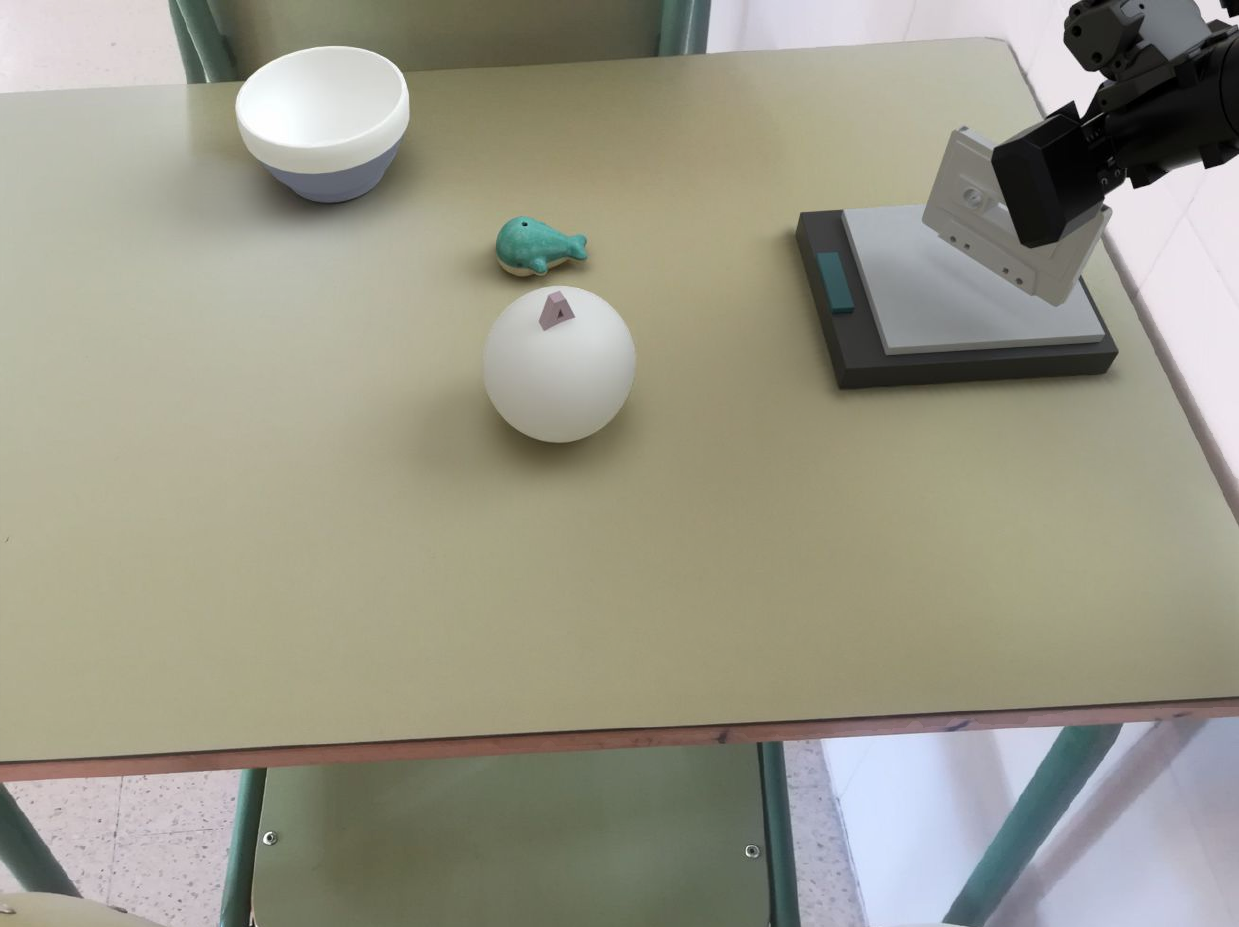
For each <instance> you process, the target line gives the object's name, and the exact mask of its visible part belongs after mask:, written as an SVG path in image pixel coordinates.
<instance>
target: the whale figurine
mask: <svg viewBox="0 0 1239 927" xmlns="http://www.w3.org/2000/svg"><path fill="white" fill-rule="evenodd" d="M587 243H588V238H587V237H586V235H584V234H574V235H571V236H568V235H567V234H564V233H563V232H561V231H559V230H557V229H555V228H553V227H552V226H550V225H547V223H545V221H538V220H536V219H535V218H533V217H530V216H524V215H522V216H517V217H514V218H511V219H510V220H508V221H507V222H506V223H505V224H504V225H503V226H502V227H501V228H500V230H499V231H498V233H497V236H496V240H495V253H496V260H497V262H498V263H499V265H500V267H501V268H502V269H503V270H505V271H506V272H507V273H509V274H511V275H514V276H517V277H528V276H532V275H537V276H539V277H543V276H546V274H547V272H548V270H550V269H552V268H554V267H557V266H559V265H561V264H563V263H565V262H567V261H572V262H574V263H585V262H586V261H587V260H588V253H587V251H586V246H587Z"/></svg>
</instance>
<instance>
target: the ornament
mask: <svg viewBox="0 0 1239 927" xmlns="http://www.w3.org/2000/svg"><path fill="white" fill-rule="evenodd" d="M636 370H637V355H636V348H635V342H634V340H633V336H632V334H631V332H630V330H629V328H628V326H627V324H626V321H624V319H623V317H621V315H620V314H619V313H618V311H617V310H616V309H615V308H614V307H613V306H612V305H611V304H610V303H608V301H606V300H604V298H602V297H601V296H600V295H599V296H598V295H597V294H595V293H593V292H591V291H589V290H586V289H583V288H580V287H576V286H569V285H551V286H544V287H541V288H537V289H534V290H531V291H529V292H527V293H524V294H523V295H521V296H520V297H518V298H517V299H515V300H514V301H512V302H511V303H510V304H509V305H508V306H507V307H506V308H505V309H503V311H502V312H501V314H500V315H499V316H498V318H497V319H496V320H495V321H494V324H493V325H492V327H491V329H490V331H489V332H488V336H487V338H486V340H485V344H484V347H483V351H482V359H481V371H482V372H481V373H482V379H483V380H482V381H483V383H484V388H485V390H486V393H487V396H488V398H489V399H490V401H491V403H492V405H493V406H494V408H495V410H496V411H497V412H498V413H499V414H500V416H501V417H502V418H503V420H505V421H506V422H507V423H508V425H510V426H511V427H513V428H514V429H515V430H517V431H518V432H520V433H522V434H524V435H526V436H527V437H529V438H532V439H535V440H537V441H542V442H546V443H559V444H560V443H570V442H575V441H579V440H582V439H585V438H588V437H589V436H591V435H593V434H595V433H597V432H598V431H601V429H603V428H604V427H605V426H607V425H608V423H610V422H611V421H612V420H613V419H614V418H615V417H616V415H617V414H618V413H619V411H620V410H621V408H622V407H623V406H624V404H625V402H626V401H627V398H628V397H629V394H630V392H631V390H632V386H633V384H634V380H635V376H636Z"/></svg>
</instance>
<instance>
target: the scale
mask: <svg viewBox="0 0 1239 927" xmlns="http://www.w3.org/2000/svg"><path fill="white" fill-rule="evenodd" d="M926 205H927V203H917V204H904V205H887V206H873V207H872V206H871V207H858V208H857V207H856V208H844V209H829V210H816V211H815V210H814V211H813V210H812V211H801V212H800V213H799V217H798V221H797V225H796V229H795V233H794V235H795V238H796V241H797V245H798V248H799V251H800V252H799V253H800V256H801V259H802V262H803V263H802V264H803V265H804V269H805V273H806V277H807V280H808V283H809V287H810V290H811V294H812V297H813V301H814V304H815V309H816V311H817V315H818V319H819V322H820V325H821V329H822V333H823V336H824V339H825V343H826V348H827V350H828V354H829V357H830V361H831V364H832V366H833V368H832V369H833V371H834V374H835V377H836V381H837V385H838V388H839V390H850V389H865V388H881V387H882V388H884V387H897V386H898V387H899V386H913V385H914V386H915V385H930V384H932V385H933V384H947V383H949V384H950V383H966V382H982V381H998V380H1016V379H1017V380H1018V379H1029V378H1030V379H1031V378H1033V379H1034V378H1047V377H1049V378H1050V377H1063V376H1080V375H1081V376H1083V375H1095V374H1096V375H1097V374H1107V372H1108V371H1109V369H1110V368H1111V366H1112V365H1113V362H1114V361H1115V360H1116V358H1117V356H1118V355H1119V353H1120V350H1119V349H1118V346H1117V343H1116V342H1115V340H1114V338H1113V336H1112V334H1111V332H1110V330H1109V328H1108V325H1107V324H1106V322H1105V320H1104V318H1103V316H1102V314H1101V312H1100V310H1099V308H1098V305H1097V303H1096V302H1095V300H1094V297H1093V296H1092V293H1091V292H1090V290H1089V288H1088V286H1087V284H1086V282H1085V280H1084V278H1083V276H1082V274H1081V275H1080V277H1079V279H1078V281H1077V283H1076V284H1075V286H1074V288H1073V290H1072V292H1071V294H1070V296H1069V298H1068V300H1067V301H1066V302H1065V303H1064V304H1061V305H1059V306H1058V307H1054V306H1052V305H1050V304H1049V303H1047V302H1046V301H1044V300H1043V299H1041V298H1039V297H1038V296H1036V295H1034V296H1030V295H1028V294H1027V293H1025V292H1024V291H1022V290H1021V289H1019V288H1018V287H1016V286H1014V285H1013V284H1011V283H1010V282H1008V281H1007V280H1005V279H1003V278H1002V277H1000V276H999V275H997V274H996V273H994V272H992V271H991V270H989V269H988V268H986V267H985V266H983V265H981V264H980V263H978V262H977V261H975V260H974V259H972V258H971V257H969V256H967V255H966V254H964V253H963V252H961V251H960V250H958V249H956V248H955V247H953V246H952V245H950V244H949V243H947V242H946V241H944V240H942V239H941V238H939V237H938V235H939V233H937V232H936V231H934V230H933V229H931V228H929V227H928V226H926V225H925V224H924V223H923V222H922V216H923V213H924V210H925V208H926ZM998 206H1000V207H1001V208H1003V209H1005V210H1006V211H1008V208H1007V207H1006V206H1005V205H1003V204H1001V203H1000V202H999V204H998ZM1008 212H1009V211H1008Z"/></svg>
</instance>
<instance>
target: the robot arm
mask: <svg viewBox="0 0 1239 927" xmlns="http://www.w3.org/2000/svg"><path fill="white" fill-rule="evenodd" d="M1218 1H1219V4H1220V8H1221V9H1223V10H1226V12H1227V15H1228V18H1229V19H1233V18H1235V17H1239V0H1218ZM1063 30H1064V31H1063V38H1062V42H1063V44H1064V46H1066V48H1067V50H1068V51H1069V52H1070V54H1071V55H1072V56H1073V57H1074V59H1075V60H1076V61H1077V63H1078V64H1079V65H1080V67H1081V69H1083V70H1084V71H1085V72H1088V73H1096V72H1099V73H1100V74H1101V75H1102V76H1103V77H1104V78H1105V80H1103V81H1102V82H1101V83H1100V84H1099V85H1098V87H1097V89H1096V91H1095V93H1094V95H1093V97H1092V99H1091V101H1090V102H1089V106H1088V107H1087V109H1086V110H1085V113H1084V115H1083V116H1082V117H1081V116H1080V114H1079V111H1078V107H1077V105H1076V102H1075V100H1074V99H1073V100H1071V101H1069V102H1067V103H1066V104H1064V105H1063V106H1061V107H1059V108H1058V109H1056V110H1054V111H1052V112H1050V114H1048V115H1047V116H1046V117H1045V118H1044V119H1043V120H1041V121H1039V122H1037V123H1035V124H1033V125H1031V126H1028V127H1027V128H1025V129H1023V130H1021V131H1019V132H1018V133H1016V134H1014V135H1013V136H1011V137H1009V138H1008V139H1006V140H1005V141H1003V142H1001V143H999V145H998V146H996V147H995V148H994V150H993V154H992V158H991V164H992V166H993V169H994V172H995V175H996V177H997V180H998V183H999V186H1000V189H1001V191H1002V194H1003V197H1004V200H1005V202H1006V205H1007V208H1008V211H1009V214H1010V216H1011V219H1012V222H1013V225H1014V227H1015V230H1016V233H1017V236H1018V239H1019V241H1020V244H1021V245H1023V246H1025V247H1027V248H1029V249H1032V248H1036V247H1040V246H1044V245H1048V244H1052V243H1056V242H1059V241H1060V240H1062V239H1063V238H1065V237H1066V236H1068V235H1069V234H1071V233H1072V232H1074V231H1075V230H1077V229H1078V228H1080V227H1081V226H1083V225H1084V224H1086V223H1087V222H1089V221H1090V220H1092V219H1093V218H1095V217H1096V215H1097V213H1098V211H1099V209H1100V207H1101V205H1102V203H1103V204H1104V201H1105V199H1106V196H1107V195H1108V194H1110V193H1111V192H1113V191H1114V190H1116V189H1117V188H1119V187H1120V186H1122V185H1124V184H1125V181H1126V179H1129V180H1130V183H1131V186H1132V189H1133V190H1138V189H1140V188H1143V187H1148V186H1151V185H1153V184H1154V183H1155V182H1157V181H1158V180H1160V179H1161V178H1163V177H1164V176H1166V175H1168V174H1169V173H1170V172H1172V171H1174V170H1178V169H1180V168H1185V167H1187V166H1191V165H1194V164H1198V163H1200V162H1202V165H1203V168H1204V170H1209V169H1212V168H1216V167H1219V166H1220V167H1221V166H1223V165H1225V164H1226V163H1229V162H1230V161H1232V159H1234V158H1236V157H1237V156H1239V25H1238V24H1237V23H1236V24H1233V25H1232V24H1229V23H1228V22H1225V21H1223V20H1221V19H1219V18H1215V19H1213V20H1210V21H1208V22H1206V21H1205V19H1204V18H1203V17H1202V12H1201V9H1200V7H1199V5H1198V4H1197V3H1196V1H1195V0H1078V1H1076V3H1073V4H1072V5H1071V6H1070V7H1069V10H1068V15H1067V16H1066V18H1065V19H1064V22H1063Z"/></svg>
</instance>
